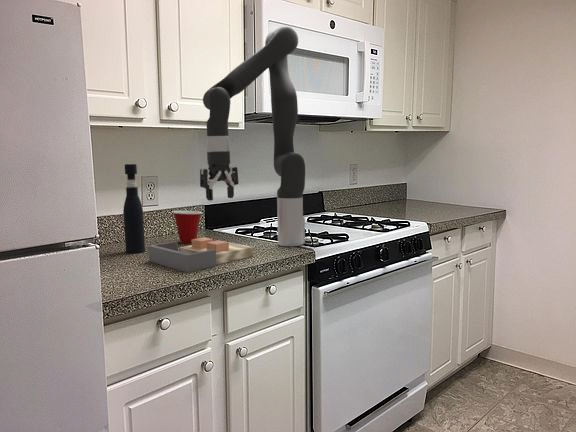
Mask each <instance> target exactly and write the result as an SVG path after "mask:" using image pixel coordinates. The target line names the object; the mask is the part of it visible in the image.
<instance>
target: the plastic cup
mask: <svg viewBox="0 0 576 432" xmlns="http://www.w3.org/2000/svg"><path fill="white" fill-rule="evenodd" d="M172 213H173V215H174V218H175V222H176V228H177V233H178V237H179V242H180V243H181V244H183V245H185V244H186V245H189V244H192V240H191V239H197V237H198V233H199V223H200V219H201V215H202V214H203V212H202V211H197V210H173V211H172Z"/></svg>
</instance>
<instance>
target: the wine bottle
mask: <svg viewBox="0 0 576 432" xmlns="http://www.w3.org/2000/svg"><path fill="white" fill-rule="evenodd" d="M137 167H138V165H137V164H136V163H127V164H124V174H125V175H126V177H127V178H126V180H127V181H126V187H125V190H126V196H125V200H124V203H123V226H124V228H123V230H124V246H125V254H142V253H145V252H146V245H145V242H146V241H145V227H144V224H145V223H144V210H143V205H142V202H141V199H140V196H139V188H138V185H137V183H138V182H137V181H136V175H137V174H138V168H137Z"/></svg>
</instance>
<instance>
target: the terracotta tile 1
mask: <svg viewBox="0 0 576 432" xmlns="http://www.w3.org/2000/svg"><path fill="white" fill-rule="evenodd" d="M191 240H192V243H191V245H192V247H194V248H198V249H204V248H206V243H207V242H212V241H214V239H213V238H208V237H198V238H197V239H191Z"/></svg>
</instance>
